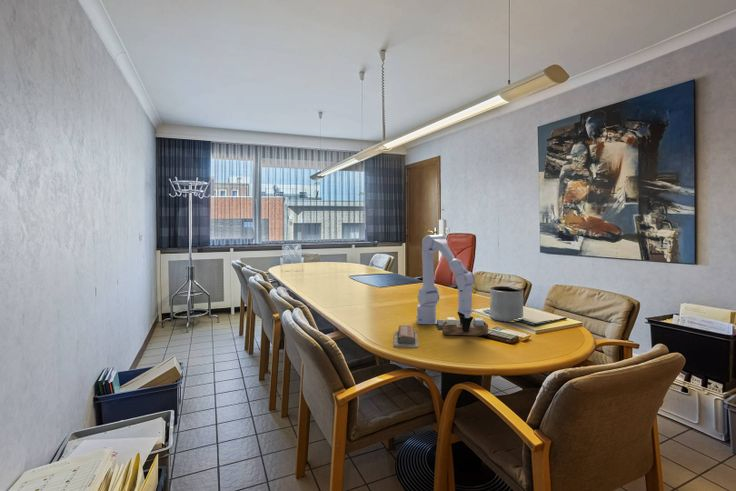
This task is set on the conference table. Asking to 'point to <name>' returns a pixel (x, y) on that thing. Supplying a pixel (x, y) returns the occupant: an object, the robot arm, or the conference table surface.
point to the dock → (440, 321)
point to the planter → (506, 303)
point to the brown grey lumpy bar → (458, 329)
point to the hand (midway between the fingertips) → (464, 329)
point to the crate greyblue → (479, 321)
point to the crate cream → (451, 321)
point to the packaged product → (405, 337)
